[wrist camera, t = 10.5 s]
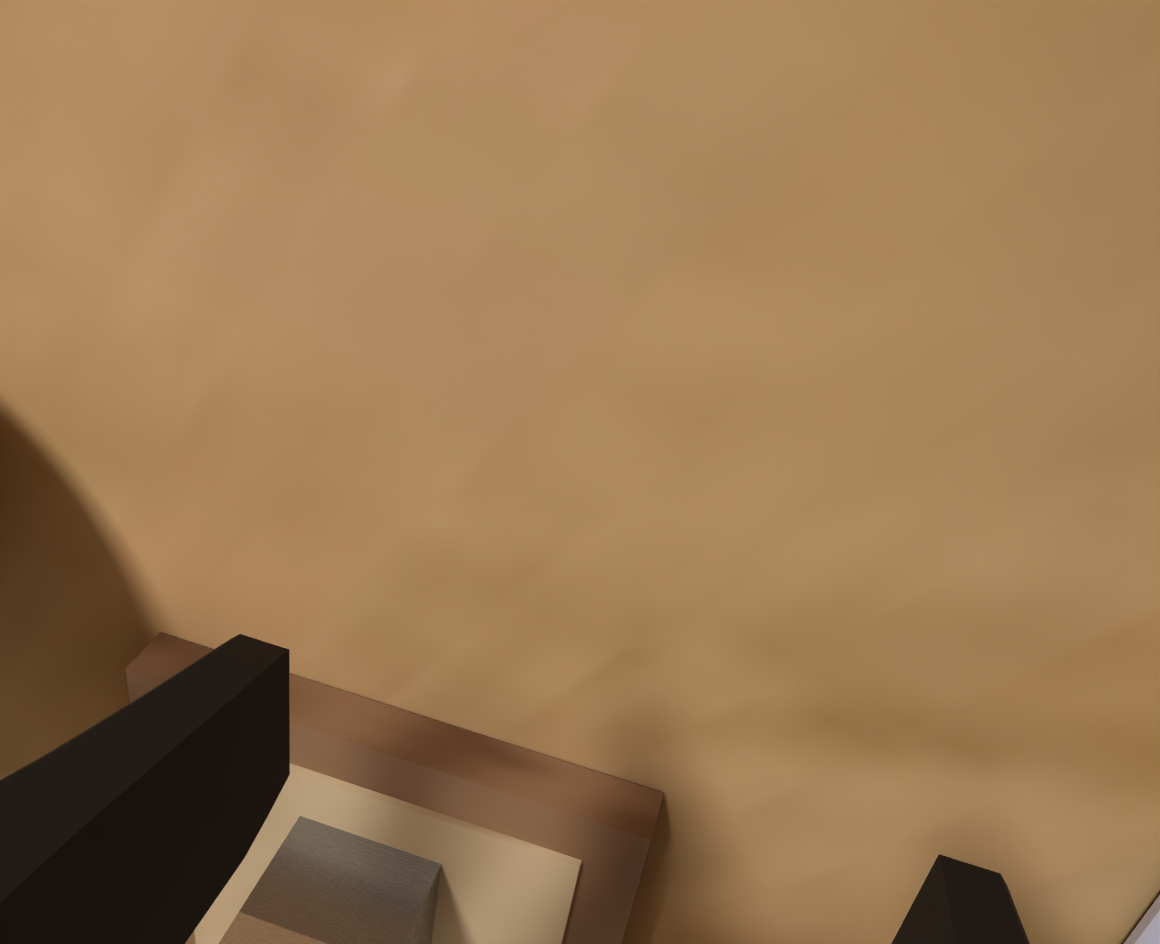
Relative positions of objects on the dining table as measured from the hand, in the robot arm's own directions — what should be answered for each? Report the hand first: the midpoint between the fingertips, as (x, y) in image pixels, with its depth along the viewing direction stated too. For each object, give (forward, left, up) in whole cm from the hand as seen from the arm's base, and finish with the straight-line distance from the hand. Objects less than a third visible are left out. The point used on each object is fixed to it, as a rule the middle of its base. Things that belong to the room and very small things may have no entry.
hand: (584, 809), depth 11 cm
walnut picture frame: (+6, +18, -10) cm, 22 cm away
